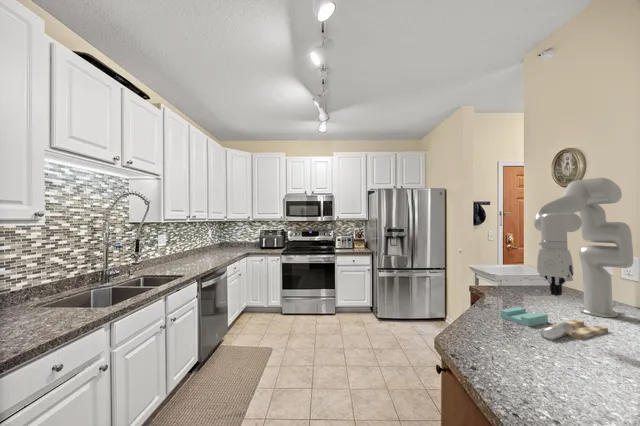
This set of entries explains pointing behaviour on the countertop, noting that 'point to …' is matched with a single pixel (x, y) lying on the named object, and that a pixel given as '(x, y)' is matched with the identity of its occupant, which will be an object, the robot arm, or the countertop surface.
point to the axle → (556, 331)
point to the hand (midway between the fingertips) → (556, 294)
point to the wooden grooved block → (583, 329)
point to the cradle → (524, 316)
